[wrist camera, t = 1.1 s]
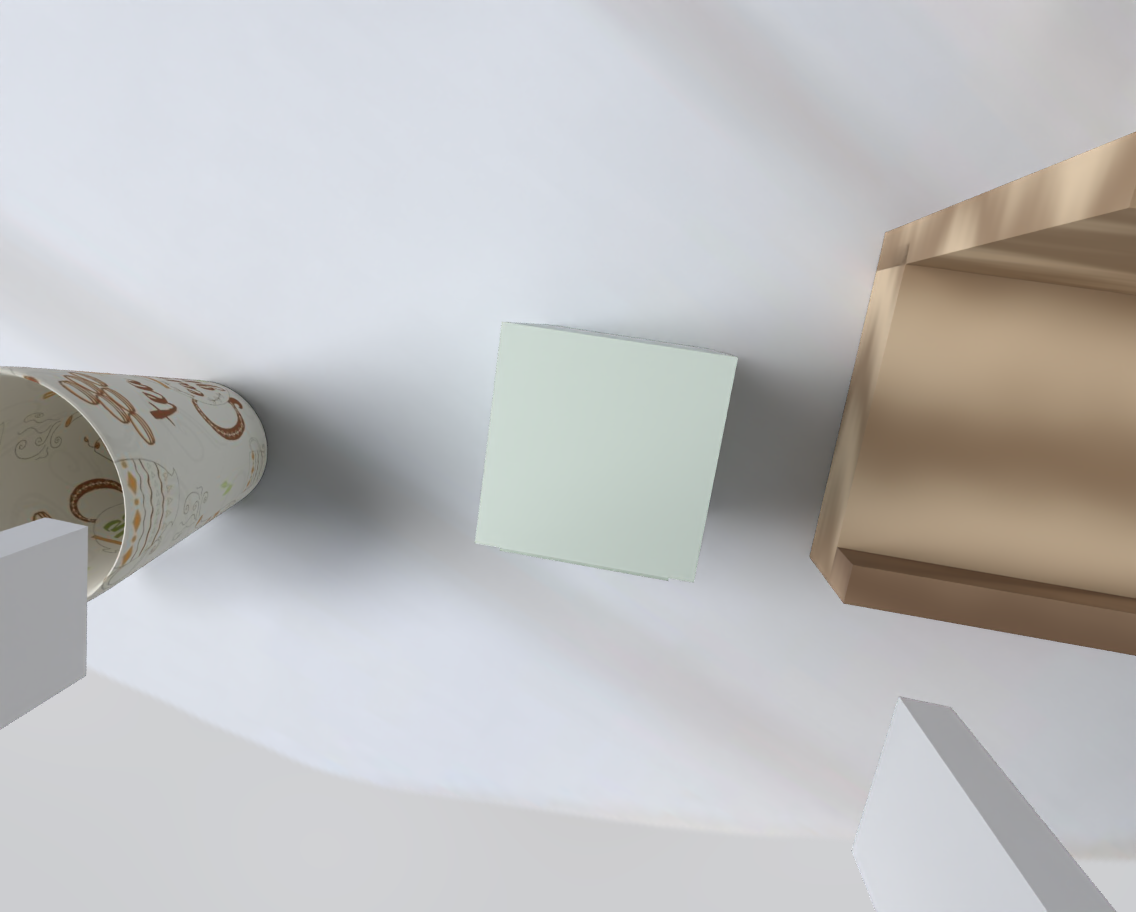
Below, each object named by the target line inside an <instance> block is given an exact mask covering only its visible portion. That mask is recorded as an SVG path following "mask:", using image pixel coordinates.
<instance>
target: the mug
mask: <svg viewBox="0 0 1136 912" xmlns="http://www.w3.org/2000/svg"><path fill="white" fill-rule="evenodd" d="M266 462H267V441H266V436H265V432H264V429H263V426H262V424H261V422H260V420H259V418H258V416H257V414H256V413H255V411H254V410H253V409H252V407H251V406H250V405H249V404H248V403H247V402H246V401H245V400H244V399H243V398H242V397H241V396H240V395H238V394H237V393H235V392H234V391H232V390H231V389H229V388H227V387H225V386H222V385H220V384H217V383H213V382H208V381H201V380H190V379H177V378H163V377H150V376H137V375H123V374H110V373H96V372H83V371H70V370H56V369H43V368H30V367H0V532H1V531H4V530H7V529H11V528H14V527H17V526H20V525H23V524H26V523H29V522H32V521H36V520H39V519H42V518H45V517H46V518H51V519H55V520H60V521H65V522H70V523H74V524H79V525H84V526H88V567H87V602H88V601H90V600H92V599H94V598H96V597H97V596H99V595H101V594H102V593H104V592H106V591H107V590H109V589H110V588H112V587H113V586H115V585H116V584H118V583H119V582H121V581H122V580H124V579H125V578H127V577H128V576H130V575H131V574H133V573H134V572H136V571H137V570H138V569H140V568H141V567H143V566H144V565H146V564H147V563H149V562H150V561H152V560H153V559H155V558H156V557H158V556H159V555H161V554H162V553H164V552H165V551H167V550H168V549H170V548H171V547H172V546H174V545H175V544H177V543H178V542H180V541H181V540H183V539H184V538H186V537H187V536H189V535H190V534H192V533H193V532H195V531H196V530H198V529H199V528H201V527H202V526H204V525H205V524H206V523H208V522H209V521H211V520H212V519H214V518H215V517H217V516H218V515H220V514H221V513H223V512H224V511H226V510H227V509H229V508H230V507H232V506H233V505H235V504H236V503H237V502H239V501H240V500H242V499H243V498H244V497H246V496H247V495H248V494H249V493H250V492H251V491H252V490H253V489H254V488H255V487H256V485H257V484H258V483H259V481H260V479H261V477H262V475H263V473H264V470H265V466H266Z"/></svg>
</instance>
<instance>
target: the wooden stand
mask: <svg viewBox="0 0 1136 912" xmlns="http://www.w3.org/2000/svg"><path fill="white" fill-rule="evenodd" d="M810 558H811V560H812V561H813V562H814V564H815V565H816V567H817V568H818V569H819V571H820V572H821V573H822V575H823V576H824V577H825V579H826V580H827V582H828V583H829V584H830V586H831V587H832V588H833V590H834V591H835V592H836V594H837V595H838V597H839V598H840V599H841V601H842V602H843V603H844V604H850V605H855V606H861V607H867V608H872V609H878V610H883V611H889V612H895V613H900V614H906V615H911V616H917V617H923V618H928V619H934V620H939V621H945V622H951V623H956V624H962V625H967V626H973V627H978V628H984V629H990V630H995V631H1001V632H1006V633H1012V634H1018V635H1023V636H1029V637H1034V638H1040V639H1046V640H1051V641H1057V642H1062V643H1068V644H1074V645H1079V646H1085V647H1090V648H1096V649H1101V650H1107V651H1113V652H1118V653H1124V654H1129V655H1135V656H1136V132H1134V133H1131V134H1129V135H1127V136H1124V137H1122V138H1119V139H1117V140H1114V141H1112V142H1109V143H1107V144H1104V145H1102V146H1099V147H1097V148H1094V149H1092V150H1089V151H1087V152H1084V153H1082V154H1079V155H1077V156H1074V157H1072V158H1069V159H1067V160H1065V161H1062V162H1060V163H1057V164H1055V165H1052V166H1050V167H1047V168H1045V169H1042V170H1040V171H1037V172H1035V173H1032V174H1030V175H1027V176H1025V177H1022V178H1020V179H1017V180H1015V181H1012V182H1010V183H1007V184H1005V185H1002V186H1000V187H998V188H995V189H993V190H990V191H988V192H985V193H983V194H980V195H978V196H975V197H973V198H970V199H968V200H965V201H963V202H960V203H958V204H955V205H953V206H950V207H948V208H945V209H943V210H940V211H938V212H936V213H933V214H931V215H928V216H926V217H923V218H921V219H918V220H916V221H913V222H911V223H908V224H906V225H903V226H901V227H898V228H896V229H893V230H891V231H888V232H886V233H885V237H884V241H883V245H882V249H881V254H880V258H879V262H878V266H877V271H876V275H875V279H874V284H873V288H872V292H871V296H870V301H869V305H868V309H867V313H866V318H865V322H864V326H863V331H862V335H861V339H860V343H859V348H858V352H857V356H856V361H855V365H854V369H853V373H852V378H851V382H850V386H849V390H848V395H847V399H846V403H845V408H844V412H843V416H842V420H841V425H840V429H839V433H838V437H837V442H836V446H835V450H834V455H833V459H832V463H831V467H830V472H829V476H828V480H827V484H826V489H825V493H824V497H823V502H822V506H821V510H820V514H819V519H818V523H817V527H816V532H815V536H814V540H813V544H812V549H811V553H810Z"/></svg>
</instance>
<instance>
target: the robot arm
mask: <svg viewBox="0 0 1136 912" xmlns="http://www.w3.org/2000/svg"><path fill="white" fill-rule="evenodd" d="M87 567H88V526H84V525H79V524H74V523H70V522H65V521H60V520H55V519H51V518H46V517H45V518H42V519H39V520H36V521H32V522H29V523H26V524H23V525H20V526H17V527H14V528H11V529H7V530H4V531H1V532H0V729H2V728H4V727H5V726H7V725H8V724H10V723H12V722H13V721H15V720H16V719H18V718H19V717H21V716H23V715H24V714H26V713H27V712H29V711H31V710H32V709H34V708H35V707H37V706H38V705H40V704H42V703H43V702H45V701H47V700H48V699H50V698H51V697H53V696H54V695H56V694H58V693H59V692H61V691H63V690H64V689H66V688H67V687H69V686H71V685H72V684H74V683H75V682H77V681H78V680H80V679H82V678H83V677H85V676H86V649H87ZM851 851H852V853H853V856H854V858H855V861H856V863H857V866H858V868H859V871H860V874H861V876H862V879H863V881H864V884H865V886H866V889H867V891H868V894H869V896H870V899H871V901H872V904H873V906H874V909H875V911H876V912H1116V910H1115V909H1114V908H1113V907H1112V906H1111V904H1110V903H1109V902H1108V901H1107V899H1106V898H1105V897H1104V896H1103V894H1102V893H1101V892H1100V891H1099V889H1098V888H1097V887H1096V886H1095V884H1094V883H1093V882H1092V881H1091V880H1090V878H1089V877H1088V876H1087V875H1086V873H1085V872H1084V871H1083V870H1082V868H1081V867H1080V866H1079V865H1078V864H1077V862H1076V861H1075V860H1074V859H1073V857H1072V856H1071V855H1070V854H1069V852H1068V851H1067V850H1066V849H1065V847H1064V846H1063V845H1062V844H1061V842H1060V841H1059V840H1058V839H1057V837H1056V836H1055V835H1054V834H1053V833H1052V831H1051V830H1050V829H1049V828H1048V826H1047V825H1046V824H1045V823H1044V821H1043V820H1042V819H1041V818H1040V816H1039V815H1038V814H1037V813H1036V812H1035V810H1034V809H1033V808H1032V807H1031V805H1030V804H1029V803H1028V802H1027V800H1026V799H1025V798H1024V797H1023V795H1022V794H1021V793H1020V792H1019V790H1018V789H1017V788H1016V787H1015V786H1014V784H1013V783H1012V782H1011V781H1010V779H1009V778H1008V777H1007V776H1006V774H1005V773H1004V772H1003V771H1002V769H1001V768H1000V767H999V766H998V765H997V763H996V762H995V761H994V760H993V758H992V757H991V756H990V755H989V753H988V752H987V751H986V750H985V748H984V747H983V746H982V745H981V744H980V742H979V741H978V740H977V739H976V737H975V736H974V735H973V734H972V732H971V731H970V730H969V729H968V727H967V726H966V725H965V724H964V722H963V721H962V720H961V719H960V718H959V716H958V715H957V714H956V713H955V711H954V710H953V709H952V708H951V707H947V706H943V705H938V704H933V703H928V702H923V701H919V700H914V699H909V698H904V697H900V696H899V697H898V701H897V704H896V707H895V710H894V714H893V717H892V720H891V723H890V727H889V730H888V733H887V736H886V740H885V743H884V746H883V749H882V753H881V756H880V759H879V762H878V766H877V769H876V772H875V775H874V779H873V782H872V785H871V788H870V791H869V795H868V798H867V801H866V804H865V808H864V811H863V814H862V817H861V821H860V824H859V827H858V830H857V834H856V837H855V840H854V843H853V847H852V850H851Z"/></svg>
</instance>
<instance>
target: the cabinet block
mask: <svg viewBox="0 0 1136 912" xmlns="http://www.w3.org/2000/svg"><path fill="white" fill-rule="evenodd" d="M737 361H738V357H735V356H731V355H728V354H725V353H721V352H718V351H714V350H711V349H707V348H700V347H694V346H687V345H680V344H673V343H667V342H660V341H653V340H647V339H640V338H633V337H627V336H620V335H613V334H607V333H600V332H593V331H587V330H580V329H573V328H567V327H560V326H553V325H547V324H530V323H512V322H502V325H501V333H500V341H499V349H498V357H497V365H496V374H495V382H494V390H493V398H492V406H491V415H490V423H489V431H488V439H487V447H486V456H485V464H484V472H483V480H482V488H481V497H480V505H479V513H478V521H477V529H476V537H475V543H476V544H481V545H487V546H492V547H498V548H500V551H505V552H510V553H516V554H521V555H527V556H532V557H538V558H544V559H549V560H555V561H560V562H566V563H571V564H577V565H582V566H588V567H594V568H599V569H605V570H610V571H616V572H621V573H627V574H632V575H638V576H644V577H649V578H655V579H660V580H666V581H668V579H669V578H671V579H676V580H682V581H687V582H693V583H694V579H695V574H696V568H697V563H698V558H699V553H700V548H701V543H702V538H703V533H704V528H705V523H706V518H707V513H708V508H709V503H710V497H711V492H712V487H713V482H714V477H715V472H716V467H717V462H718V457H719V452H720V447H721V442H722V437H723V432H724V427H725V421H726V416H727V411H728V406H729V401H730V396H731V391H732V386H733V381H734V376H735V371H736V366H737Z"/></svg>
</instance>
